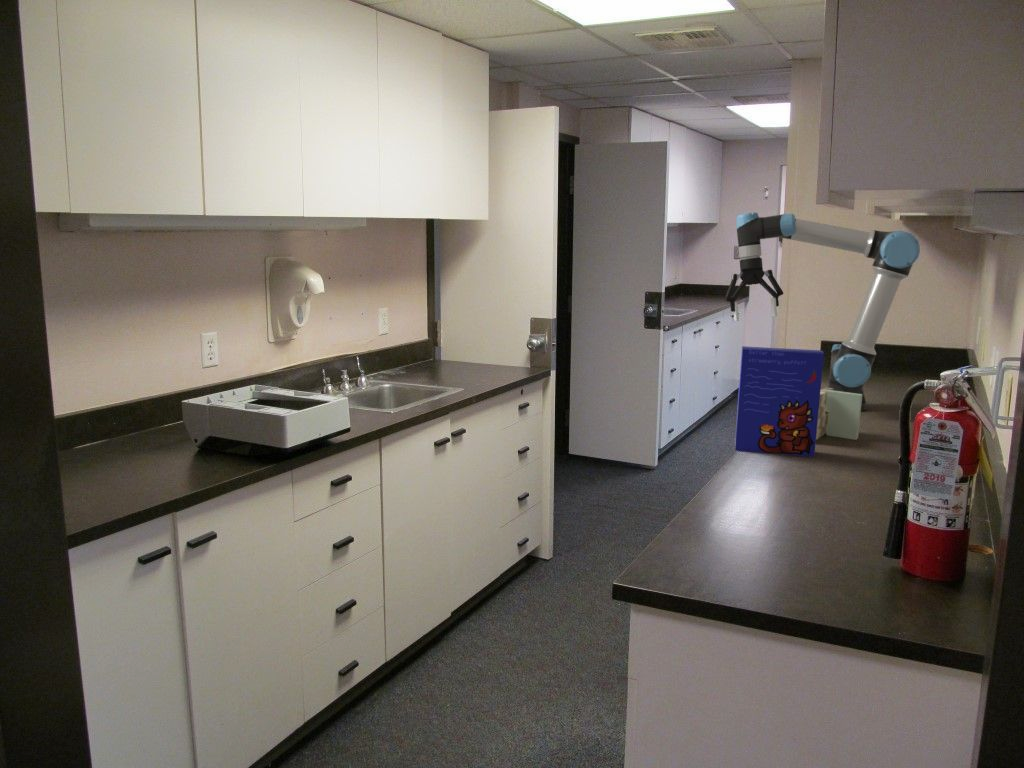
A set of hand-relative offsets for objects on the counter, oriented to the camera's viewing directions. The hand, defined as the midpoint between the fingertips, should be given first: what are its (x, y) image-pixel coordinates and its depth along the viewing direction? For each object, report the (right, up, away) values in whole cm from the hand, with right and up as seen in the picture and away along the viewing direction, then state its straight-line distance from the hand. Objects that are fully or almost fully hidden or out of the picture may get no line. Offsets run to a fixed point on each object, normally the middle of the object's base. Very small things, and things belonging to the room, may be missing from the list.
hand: (755, 318), depth 289 cm
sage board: (+12, -39, -29) cm, 50 cm away
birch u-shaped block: (+9, -39, -33) cm, 52 cm away
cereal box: (-10, -43, -50) cm, 66 cm away
